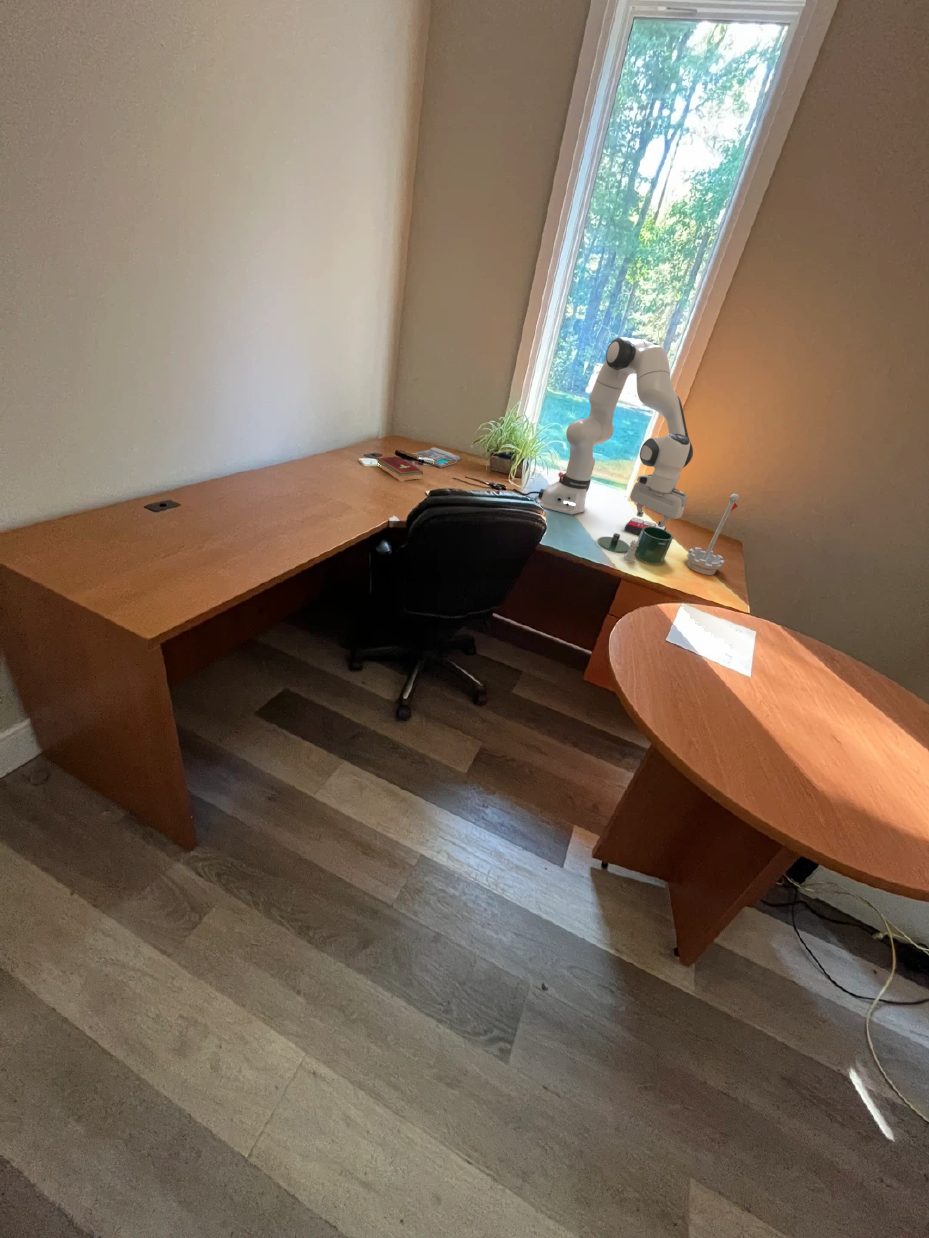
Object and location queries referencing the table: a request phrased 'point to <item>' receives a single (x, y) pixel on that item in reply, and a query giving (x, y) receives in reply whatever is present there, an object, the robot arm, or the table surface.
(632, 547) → the rook chess piece
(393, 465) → the hardcover book
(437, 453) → the office telephone
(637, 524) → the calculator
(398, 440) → the table surface
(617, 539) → the tin lid
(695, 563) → the flag stand
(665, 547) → the tin
